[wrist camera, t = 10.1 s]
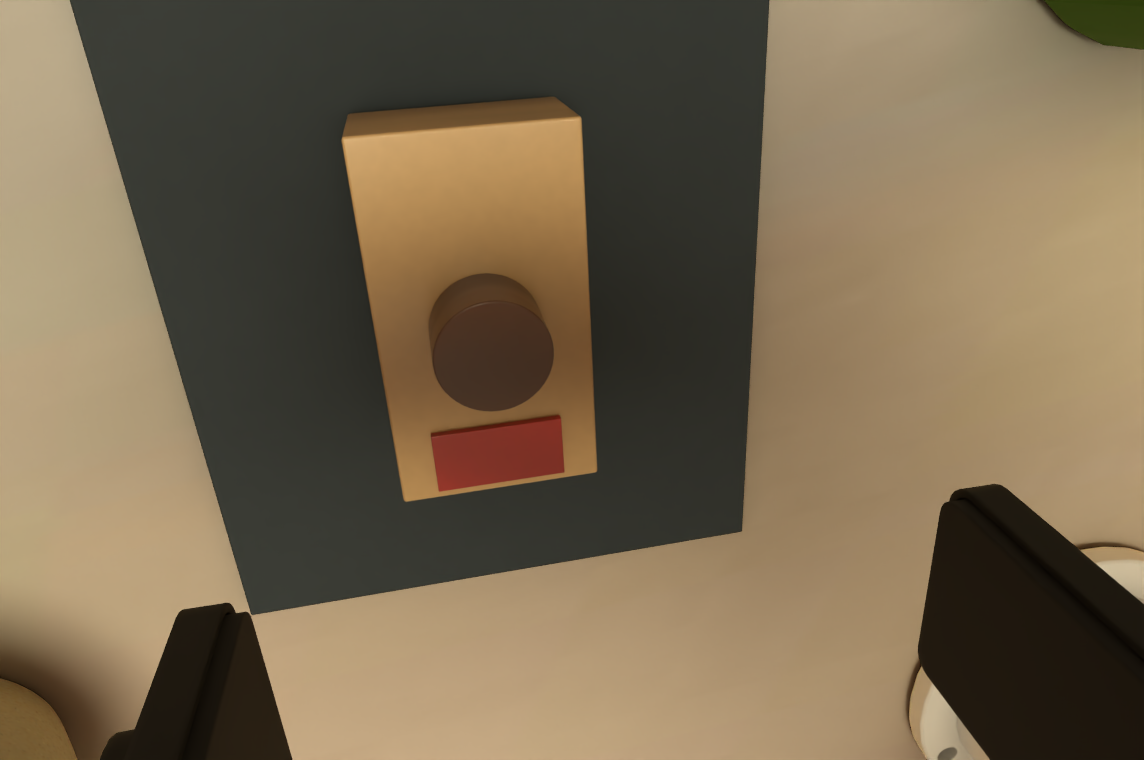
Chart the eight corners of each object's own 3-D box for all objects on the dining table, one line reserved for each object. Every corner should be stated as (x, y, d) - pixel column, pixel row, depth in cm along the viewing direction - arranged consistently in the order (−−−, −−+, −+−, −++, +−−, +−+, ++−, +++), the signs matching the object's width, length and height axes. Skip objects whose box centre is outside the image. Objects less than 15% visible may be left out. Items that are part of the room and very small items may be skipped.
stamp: (347, 110, 20) (335, 154, 15) (552, 93, 21) (601, 130, 16) (401, 434, 24) (405, 547, 19) (571, 410, 25) (614, 512, 20)
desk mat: (737, 525, 29) (742, 532, 28) (253, 607, 26) (251, 616, 26) (771, -170, 19) (779, -173, 19) (33, -144, 17) (25, -147, 17)
